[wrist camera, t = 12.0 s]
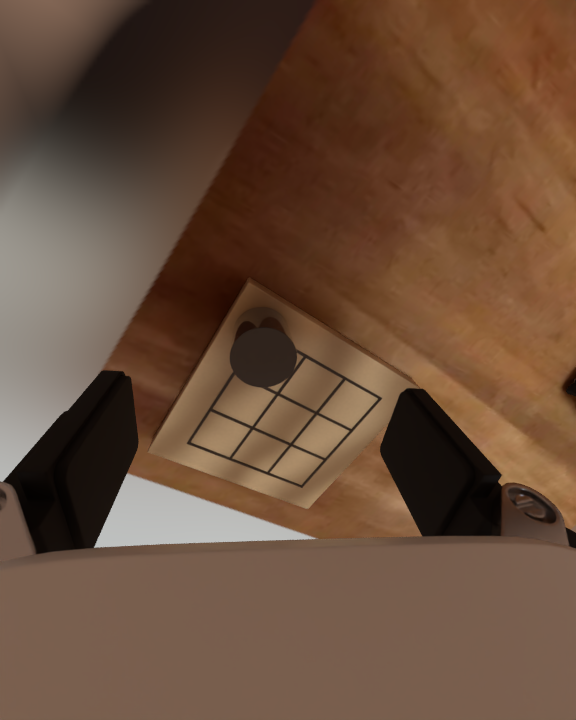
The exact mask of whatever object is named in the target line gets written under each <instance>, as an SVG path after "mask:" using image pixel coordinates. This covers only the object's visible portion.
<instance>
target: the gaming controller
mask: <svg viewBox="0 0 576 720" xmlns="http://www.w3.org/2000/svg"><path fill="white" fill-rule="evenodd" d="M566 392H567V393H568V394H570V395H573V396H576V378H575V379H574V382H573V383H572V384H571V385H570V386H569V387H568V388H567V390H566Z"/></svg>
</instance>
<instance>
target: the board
mask: <svg viewBox="0 0 576 720" xmlns="http://www.w3.org/2000/svg"><path fill="white" fill-rule="evenodd" d="M255 307H268V308H271V309H274V310H276V311H277V312H279V313H280V314H281V315H282V316H283V317H284V318H285V319H286V321H287V323H288V326H289V329H290V332H291V335H292V338H293V341H294V344H295V347H296V351H297V362H296V366H295V368H294V370H293V372H292V373H291V375H290V376H289V377H288V378H287V379H286V380H284V381H283V382H281V383H280V384H278V385H275V386H271V387H265V388H260V387H254V386H251V385H248V384H246V383H244V382H243V381H241V380H240V379H239V378H238V377H237V376H236V375H235V373H234V372H233V370H232V368H231V365H230V349H231V342H232V334H233V328H234V324H235V322H236V320H237V319H238V318H239V316H240V315H241V314H242V313H244V312H245V311H247V310H249V309H251V308H255ZM407 388H417V389H421V388H420V387H419V386H418V385H417V384H416V383H415V382H414V381H413V380H412V379H411V378H410V377H408V376H406V375H405V374H403V373H402V372H400V371H398V370H397V369H395V368H394V367H392V366H391V365H389V364H387V363H386V362H384V361H383V360H381V359H379V358H378V357H376V356H375V355H373V354H371V353H370V352H368V351H367V350H365V349H363V348H362V347H360V346H359V345H357V344H355V343H354V342H352V341H351V340H349V339H347V338H346V337H344V336H343V335H341V334H339V333H338V332H336V331H335V330H333V329H331V328H330V327H328V326H327V325H325V324H323V323H322V322H320V321H319V320H317V319H315V318H314V317H312V316H311V315H309V314H307V313H306V312H304V311H303V310H301V309H299V308H298V307H296V306H295V305H293V304H291V303H290V302H288V301H287V300H285V299H283V298H282V297H280V296H279V295H277V294H275V293H274V292H272V291H271V290H269V289H267V288H266V287H264V286H263V285H261V284H259V283H258V282H256V281H255V280H253V279H252V278H250V277H249V278H248V279H247V281H246V283H245V284H244V286H243V288H242V289H241V291H240V293H239V294H238V296H237V298H236V299H235V301H234V303H233V304H232V306H231V308H230V309H229V311H228V313H227V315H226V316H225V318H224V320H223V321H222V323H221V325H220V326H219V328H218V330H217V331H216V333H215V335H214V336H213V338H212V340H211V341H210V343H209V345H208V347H207V348H206V350H205V352H204V353H203V355H202V357H201V358H200V360H199V362H198V363H197V365H196V367H195V368H194V370H193V372H192V373H191V375H190V377H189V379H188V380H187V382H186V384H185V385H184V387H183V389H182V390H181V392H180V394H179V395H178V397H177V399H176V400H175V402H174V404H173V405H172V407H171V409H170V411H169V412H168V414H167V416H166V417H165V419H164V421H163V422H162V424H161V426H160V427H159V429H158V431H157V432H156V434H155V436H154V437H153V439H152V442H151V444H150V447H149V449H148V452H149V453H152V454H155V455H157V456H160V457H163V458H166V459H169V460H171V461H174V462H177V463H180V464H183V465H185V466H188V467H191V468H194V469H197V470H199V471H202V472H205V473H208V474H211V475H213V476H216V477H219V478H222V479H225V480H228V481H230V482H233V483H236V484H239V485H242V486H244V487H247V488H250V489H253V490H256V491H258V492H261V493H264V494H267V495H270V496H272V497H275V498H278V499H281V500H284V501H286V502H289V503H292V504H295V505H298V506H300V507H303V508H306V509H308V508H309V507H310V506H311V505H312V504H313V503H314V502H315V501H316V500H317V499H318V497H319V496H320V495H321V494H322V493H323V492H324V491H325V490H326V489H327V488H328V487H329V486H330V485H331V484H332V483H333V482H334V480H335V479H336V478H337V477H338V476H339V475H340V474H341V473H342V472H343V471H344V470H345V469H346V468H347V467H348V466H349V464H350V463H351V462H352V461H353V460H354V459H355V458H356V457H357V456H358V455H359V454H360V453H361V452H362V451H363V450H364V448H365V447H366V446H367V445H368V444H369V443H370V442H371V441H372V440H373V439H374V438H375V437H376V436H377V435H378V434H379V432H380V431H381V430H382V429H383V428H384V427H385V426H386V425H387V424H388V423H389V422H390V419H391V416H392V414H393V411H394V408H395V406H396V403H397V400H398V397H399V395H400V393H401V392H404V390H405V389H407Z"/></svg>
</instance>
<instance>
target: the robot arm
mask: <svg viewBox="0 0 576 720" xmlns="http://www.w3.org/2000/svg"><path fill="white" fill-rule="evenodd" d="M137 448H138V433H137V424H136V416H135V408H134V399H133V391H132V383H131V378H130V377H129V376H125V374H124V372H123V371H106V370H104V371H101V372H100V374H99V375H98V376H97V377H96V378H95V379H94V381H93V382H92V383H91V384H90V385H89V386H88V388H87V389H86V390H85V391H84V392H83V394H82V395H81V396H80V397H79V398H78V399H77V401H76V402H75V403H74V404H73V405H72V406H71V408H70V409H69V410H68V411H65V412H64V413H63V414H61V415H60V416H59V418H58V419H57V420H56V421H55V422H54V423H53V425H52V426H51V427H50V428H49V429H48V430H47V431H46V433H45V434H44V435H43V436H42V437H41V438H40V440H39V441H38V442H37V443H36V444H35V445H34V447H33V448H32V449H31V450H30V451H29V452H28V454H27V455H26V456H25V457H24V458H23V459H22V461H21V462H20V463H19V464H18V465H17V466H16V467H15V469H14V470H13V471H12V472H11V473H10V474H9V476H8V477H7V478H6V479H5V480H4V481H3V482H0V720H576V533H575V532H573V531H572V530H570V529H568V528H566V527H565V523H564V519H563V517H562V515H561V513H560V511H559V510H558V509H557V507H556V506H555V505H554V504H553V503H552V502H551V501H550V500H549V499H548V498H546V497H545V496H543V495H542V494H541V493H539V492H537V491H536V490H534V489H532V488H530V487H528V486H525V485H522V484H519V483H506V484H505V485H503V486H501V485H500V484H499V483H498V480H499V479H500V477H501V476H502V475H501V473H500V472H499V471H498V470H497V469H496V468H495V467H494V466H493V465H492V464H491V462H490V461H489V460H488V459H487V458H486V457H485V456H484V455H483V454H482V453H481V451H480V450H479V449H478V448H477V447H476V446H475V445H474V444H473V443H472V442H471V440H470V439H469V438H468V437H467V436H466V435H465V434H464V433H463V432H462V430H461V429H460V428H459V427H458V426H457V425H456V424H455V423H454V422H453V421H452V419H451V418H450V417H449V416H448V415H447V414H446V413H445V412H444V411H443V410H442V408H441V407H440V406H439V405H438V404H437V403H436V402H435V401H434V400H433V399H432V397H431V396H430V395H429V394H428V393H427V392H426V391H425V390H424V389H417V388H407V389H405V390H404V392H401V393H400V395H399V397H398V400H397V403H396V406H395V408H394V411H393V414H392V416H391V419H390V422H389V424H388V427H387V430H386V433H385V435H384V438H383V441H382V443H381V447H380V452H381V456H382V458H383V460H384V462H385V464H386V466H387V468H388V470H389V472H390V474H391V476H392V478H393V479H394V481H395V483H396V485H397V487H398V489H399V491H400V493H401V495H402V497H403V499H404V501H405V503H406V505H407V507H408V509H409V511H410V513H411V515H412V517H413V519H414V521H415V523H416V525H417V527H418V529H419V531H420V532H421V534H422V536H423V537H382V538H344V539H312V540H276V541H247V542H218V543H217V542H216V543H189V544H160V545H141V546H121V547H103V548H102V547H101V548H94V546H95V543H96V541H97V539H98V537H99V535H100V532H101V530H102V528H103V526H104V523H105V521H106V519H107V517H108V514H109V512H110V510H111V508H112V505H113V503H114V501H115V499H116V496H117V494H118V492H119V489H120V487H121V485H122V483H123V481H124V478H125V476H126V474H127V472H128V469H129V467H130V465H131V463H132V460H133V458H134V456H135V454H136V451H137Z"/></svg>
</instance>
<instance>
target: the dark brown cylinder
mask: <svg viewBox="0 0 576 720" xmlns="http://www.w3.org/2000/svg"><path fill="white" fill-rule="evenodd" d="M296 362H297V351H296V347H295V344H294V341H293V338H292V335H291V332H290V329H289V326H288V323H287V321H286V319H285V318H284V317H283V316H282V315H281V314H280V313H279V312H277V311H276V310H274V309H271V308H268V307H255V308H251V309H249V310H247V311H245V312H244V313H242V314H241V315H240V316H239V318H238V319H237V320H236V322H235V324H234V328H233V334H232V342H231V349H230V365H231V368H232V370H233V372H234V373H235V375H236V376H237V377H238V378H239V379H240V380H241V381H243V382H244V383H246V384H248V385H251V386H254V387H260V388H265V387H271V386H275V385H278V384H280V383H281V382H283V381H284V380H286V379H287V378H288V377H289V376H290V375H291V373H292V372H293V370H294V368H295V366H296Z"/></svg>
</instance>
